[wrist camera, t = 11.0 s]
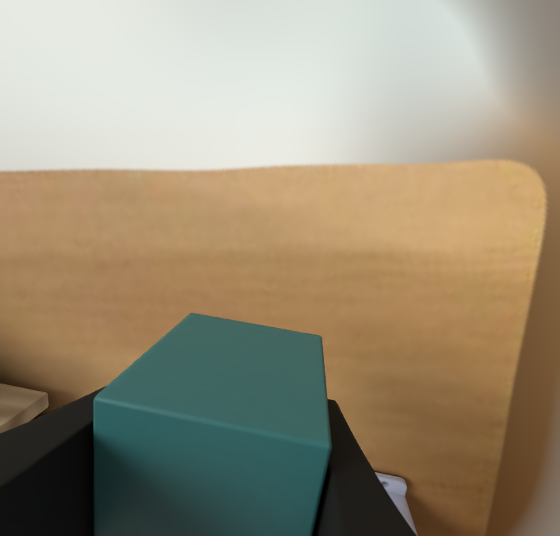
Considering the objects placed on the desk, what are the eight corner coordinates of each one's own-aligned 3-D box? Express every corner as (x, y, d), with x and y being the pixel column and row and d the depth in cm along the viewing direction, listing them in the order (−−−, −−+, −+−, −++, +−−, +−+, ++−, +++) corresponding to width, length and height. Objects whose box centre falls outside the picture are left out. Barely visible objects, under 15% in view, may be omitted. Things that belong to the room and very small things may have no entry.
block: (322, 335, 9) (333, 446, 5) (300, 448, 10) (293, 625, 6) (190, 311, 10) (90, 397, 5) (182, 423, 11) (91, 574, 6)
